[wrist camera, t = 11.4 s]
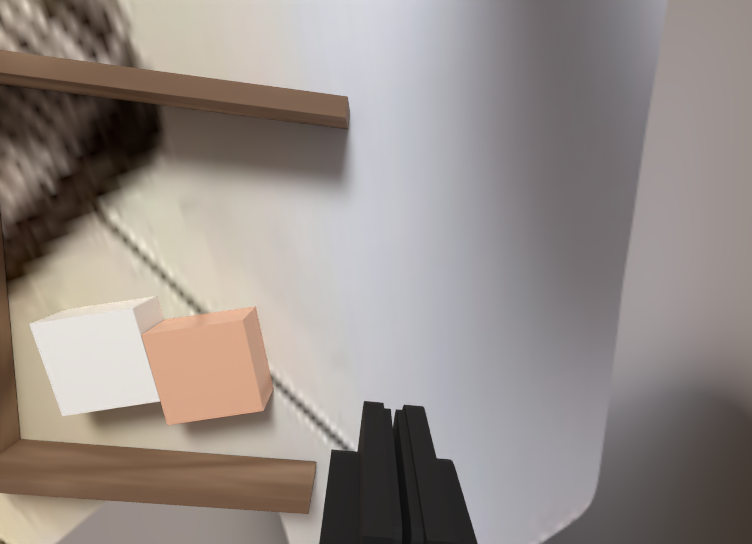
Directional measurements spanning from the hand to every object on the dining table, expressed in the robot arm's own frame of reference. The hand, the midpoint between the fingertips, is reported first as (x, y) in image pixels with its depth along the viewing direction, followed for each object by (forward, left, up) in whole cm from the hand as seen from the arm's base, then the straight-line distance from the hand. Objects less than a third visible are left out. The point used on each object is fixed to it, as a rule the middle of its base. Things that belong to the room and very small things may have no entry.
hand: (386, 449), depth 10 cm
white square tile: (+5, -16, -15) cm, 22 cm away
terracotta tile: (+5, -10, -15) cm, 19 cm away
